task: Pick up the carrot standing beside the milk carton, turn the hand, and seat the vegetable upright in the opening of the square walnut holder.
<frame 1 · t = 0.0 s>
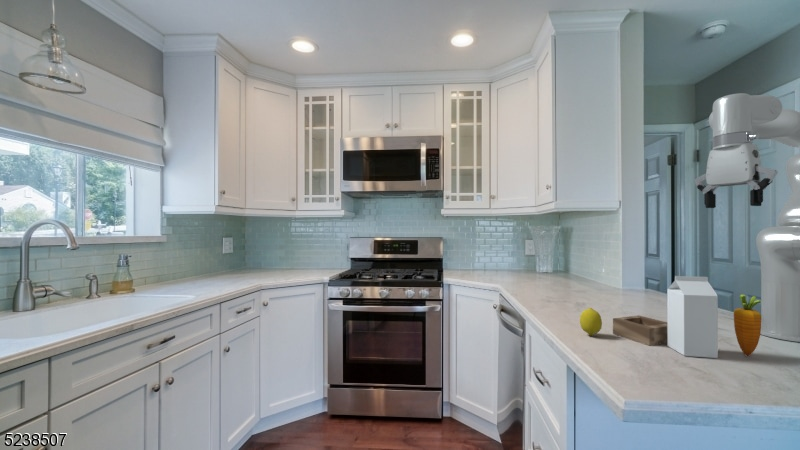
hand: (732, 206, 91), 37 cm above the countertop, tool pointing down, fingers open, 9 cm apart
carrot: (747, 356, 83), on the countertop
lemon: (590, 336, 98), on the countertop
milk carton: (691, 353, 85), on the countertop
walnut holder: (643, 337, 97), on the countertop
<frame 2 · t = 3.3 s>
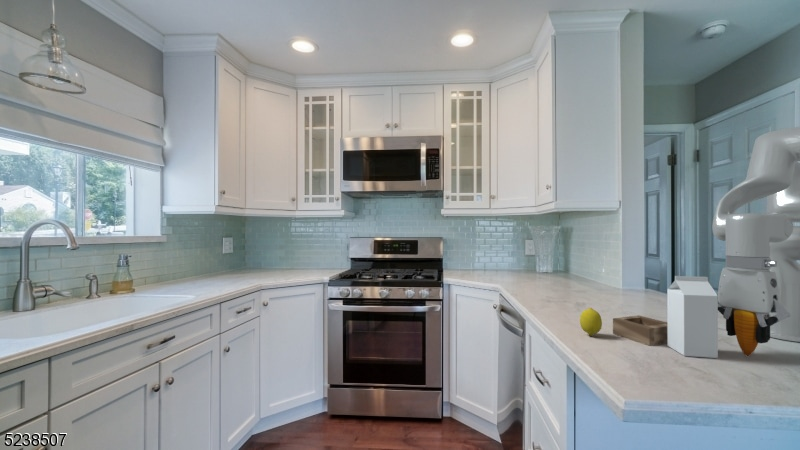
hand: (747, 337, 83), 4 cm above the countertop, tool pointing down, fingers closed on carrot, 4 cm apart
carrot: (747, 356, 83), on the countertop, touching gripper
everything else where it was.
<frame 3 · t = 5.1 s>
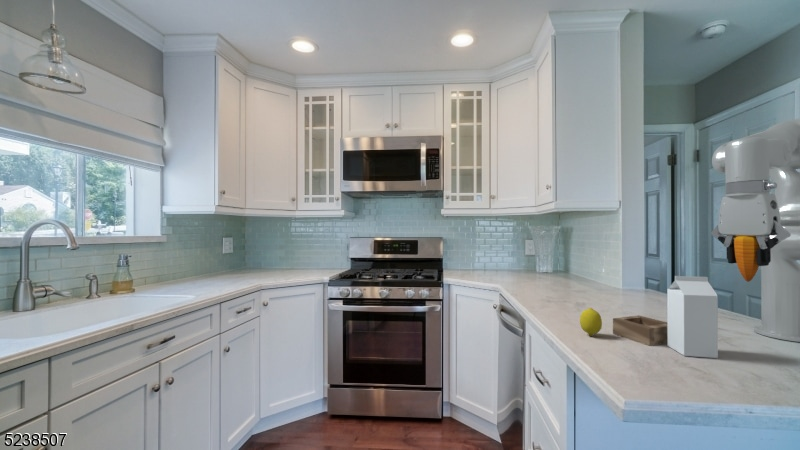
hand: (747, 263, 83), 22 cm above the countertop, tool pointing down, fingers closed on carrot, 4 cm apart
carrot: (748, 282, 83), point 18 cm above the countertop, touching gripper
everything else where it was.
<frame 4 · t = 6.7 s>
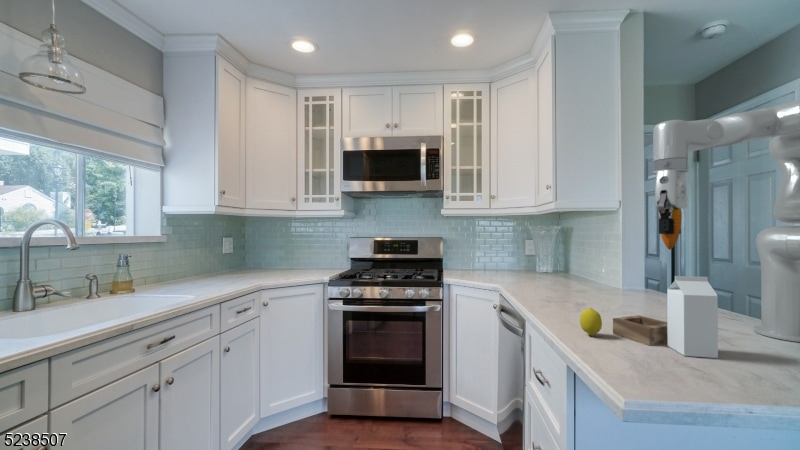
hand: (669, 233, 93), 30 cm above the countertop, tool pointing down, fingers closed on carrot, 4 cm apart
carrot: (669, 250, 93), point 25 cm above the countertop, touching gripper
everything else where it was.
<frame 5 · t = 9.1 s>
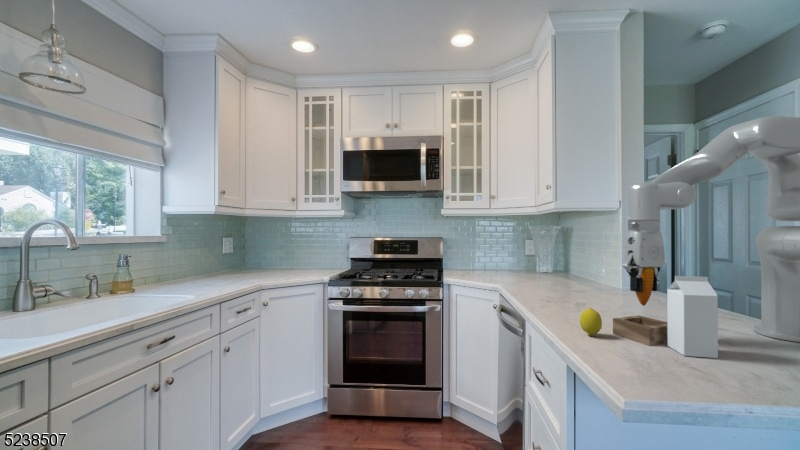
hand: (643, 290, 97), 13 cm above the countertop, tool pointing down, fingers closed on carrot, 4 cm apart
carrot: (643, 306, 97), point 9 cm above the countertop, touching gripper
everything else where it was.
when the fingers open (7 cm above the countertop, at t = 10.5 s): carrot drops 1 cm, resting on walnut holder.
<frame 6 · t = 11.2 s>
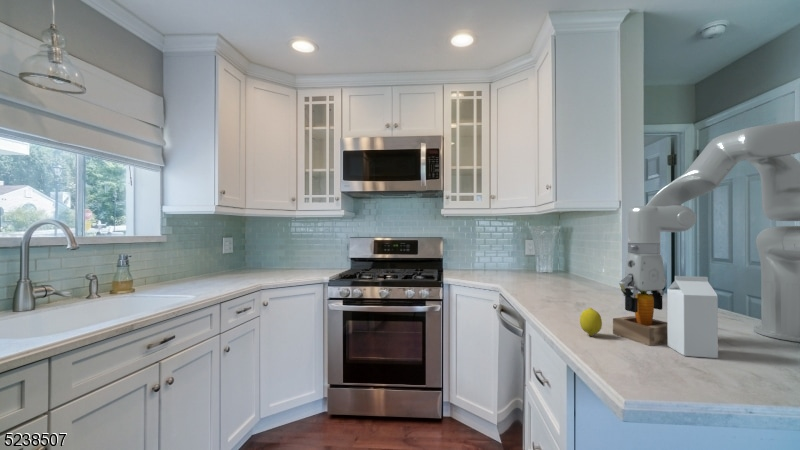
hand: (643, 309, 97), 8 cm above the countertop, tool pointing down, fingers open, 9 cm apart
carrot: (644, 334, 97), point 1 cm above the countertop, touching walnut holder
everything else where it was.
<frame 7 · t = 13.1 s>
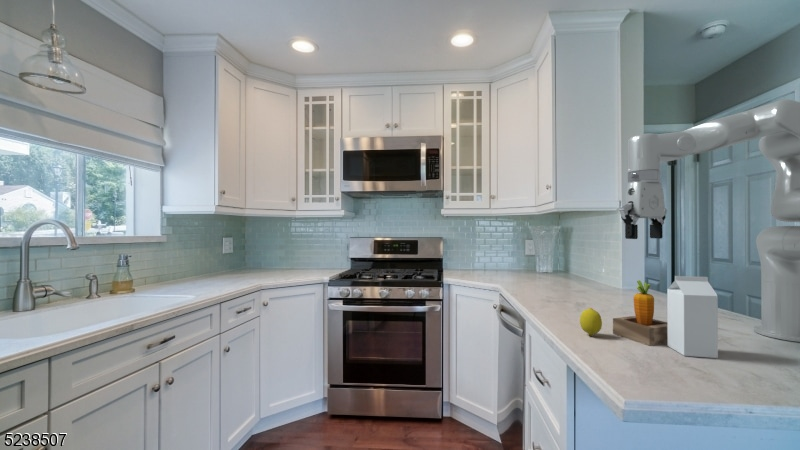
hand: (643, 238, 97), 28 cm above the countertop, tool pointing down, fingers open, 9 cm apart
nothing on the countertop moved.
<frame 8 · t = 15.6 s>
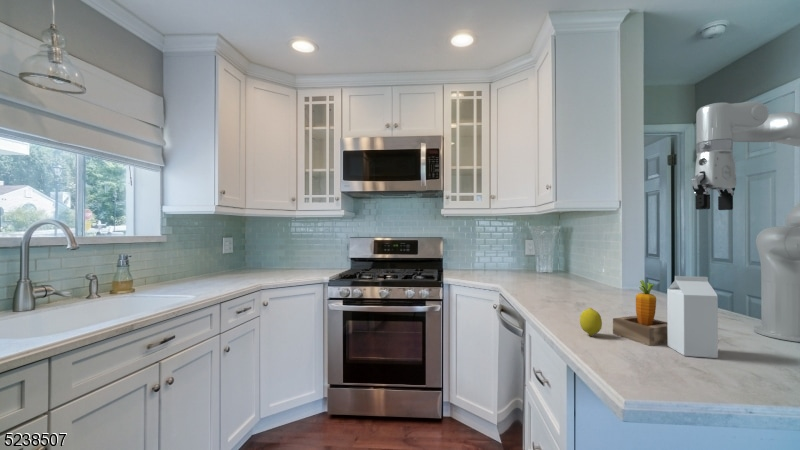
hand: (714, 209, 96), 36 cm above the countertop, tool pointing down, fingers open, 9 cm apart
at the end: carrot 0.5 cm off-centre on the walnut holder, point 0.8 cm above the walnut holder's base; carrot tilted 2°; the gripper is holding nothing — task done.
